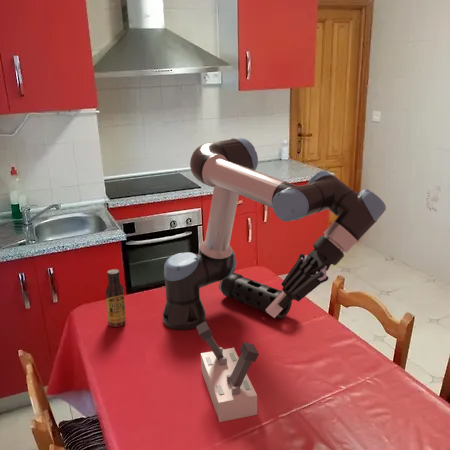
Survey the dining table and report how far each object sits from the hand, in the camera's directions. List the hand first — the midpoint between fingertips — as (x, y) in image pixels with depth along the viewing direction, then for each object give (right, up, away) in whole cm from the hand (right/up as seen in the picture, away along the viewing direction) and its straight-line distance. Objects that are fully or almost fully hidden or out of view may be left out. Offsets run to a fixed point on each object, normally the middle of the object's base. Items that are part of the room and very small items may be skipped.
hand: (269, 314), depth 119 cm
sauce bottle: (-49, -12, +48) cm, 70 cm away
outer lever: (-9, -19, +4) cm, 22 cm away
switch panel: (-11, -24, +12) cm, 29 cm away
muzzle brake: (-1, -8, +57) cm, 57 cm away
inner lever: (-12, -15, +16) cm, 25 cm away
